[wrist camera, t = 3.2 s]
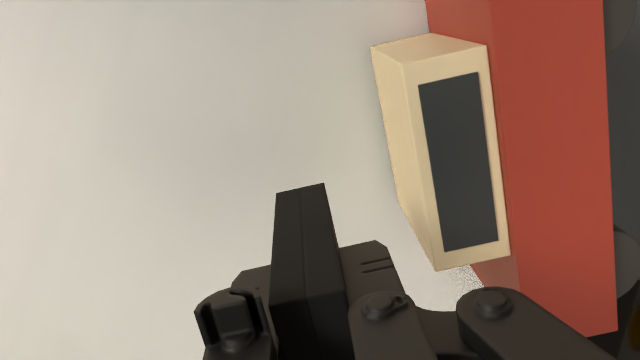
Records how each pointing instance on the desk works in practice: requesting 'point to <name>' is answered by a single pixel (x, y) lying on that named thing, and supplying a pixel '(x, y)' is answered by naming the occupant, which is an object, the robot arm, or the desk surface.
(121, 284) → the desk surface
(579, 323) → the toy car
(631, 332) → the black angular block
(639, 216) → the mat
